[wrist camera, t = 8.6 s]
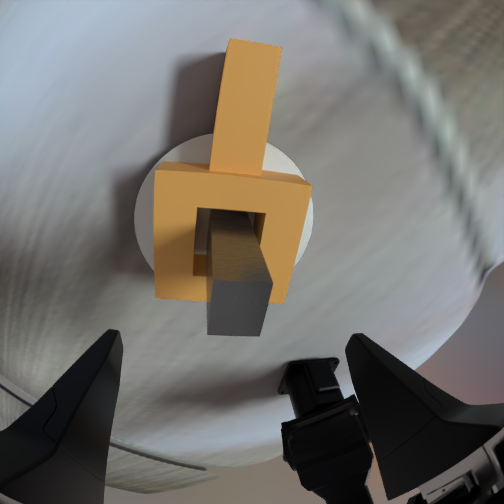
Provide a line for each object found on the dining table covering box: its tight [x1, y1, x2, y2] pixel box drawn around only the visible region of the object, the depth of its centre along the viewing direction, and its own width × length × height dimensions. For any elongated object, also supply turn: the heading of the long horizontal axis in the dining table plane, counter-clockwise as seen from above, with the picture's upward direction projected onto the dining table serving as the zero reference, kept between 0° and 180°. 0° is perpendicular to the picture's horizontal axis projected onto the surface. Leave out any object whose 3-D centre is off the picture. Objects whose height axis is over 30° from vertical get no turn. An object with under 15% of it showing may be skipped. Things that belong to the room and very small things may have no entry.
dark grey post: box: [206, 208, 274, 336], centre depth 15 cm, size 3×2×9 cm
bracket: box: [134, 39, 313, 304], centre depth 17 cm, size 19×13×4 cm
